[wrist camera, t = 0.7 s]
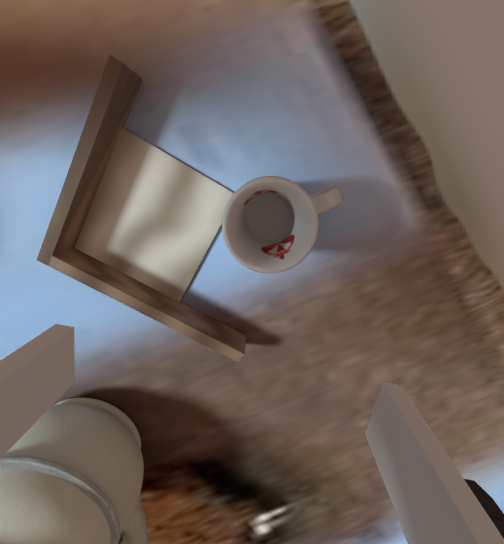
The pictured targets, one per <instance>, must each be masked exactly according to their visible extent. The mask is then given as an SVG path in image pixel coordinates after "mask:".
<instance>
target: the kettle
mask: <svg viewBox="0 0 504 544" xmlns="http://www.w3.org/2000/svg"><path fill="white" fill-rule="evenodd" d="M143 475H144V462H143V456H142V452H141V439H140V435H139V432H138V430H137V428H136V426H135V424H134V423H133V422H132V420H131V419H130V418H129V417H128V416H127V415H126V414H125V413H124V412H122V411H121V410H120V409H118V408H117V407H115V406H113V405H111V404H109V403H107V402H104V401H101V400H98V399H93V398H82V397H80V398H71V399H66V400H63V401H60V402H58V403H56V404H55V405H52V406H51V407H50V408H49V409H48V410H47V411H46V412H45V413H44V414H43V415H42V416H41V417H40V418H39V419H38V421H37V422H36V423H35V424H34V425H33V426H32V427H31V428H30V429H29V430H28V431H27V432H26V433H25V434H24V435H23V436H22V437H21V438H20V439H19V440H18V441H17V442H16V443H15V444H14V445H13V446H12V447H11V448H10V449H9V450H8V451H7V452H6V454H5V455H4V456H3V457H2V458H1V459H0V544H123V543H124V542H125V544H148V535H147V525H146V518H145V514H144V510H143V506H142V503H141V500H140V493H141V488H142V482H143ZM120 537H121V538H120Z"/></svg>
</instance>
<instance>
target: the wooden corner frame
mask: <svg viewBox="0 0 504 544" xmlns="http://www.w3.org/2000/svg"><path fill="white" fill-rule="evenodd" d="M141 81H142V79H141V78H140V77H138V76H137V75H136V74H135V73H134V72H133V71H131V70H130V69H129V68H128V67H127V66H126V65H125V64H123V63H122V62H120V61H118V60H117V59H115V58H114V57H112V56H109V59H108V62H107V65H106V67H105V70H104V73H103V76H102V79H101V81H100V84H99V87H98V90H97V93H96V95H95V98H94V101H93V104H92V107H91V109H90V112H89V115H88V118H87V121H86V123H85V126H84V129H83V132H82V135H81V137H80V140H79V143H78V146H77V149H76V151H75V154H74V157H73V160H72V163H71V165H70V168H69V171H68V174H67V177H66V180H65V182H64V185H63V188H62V191H61V194H60V196H59V199H58V202H57V205H56V208H55V210H54V213H53V216H52V219H51V222H50V224H49V227H48V230H47V233H46V236H45V238H44V241H43V244H42V247H41V250H40V252H39V255H38V258H37V260H38V261H40V262H42V263H44V264H46V265H48V266H50V267H52V268H54V269H56V270H58V271H59V272H61V273H63V274H65V275H67V276H69V277H71V278H73V279H75V280H77V281H79V282H81V283H83V284H85V285H87V286H89V287H91V288H93V289H95V290H97V291H99V292H101V293H103V294H105V295H107V296H109V297H111V298H113V299H115V300H117V301H119V302H121V303H123V304H125V305H127V306H129V307H131V308H133V309H135V310H136V311H138V312H140V313H142V314H144V315H146V316H148V317H150V318H152V319H154V320H156V321H158V322H160V323H162V324H164V325H166V326H168V327H170V328H172V329H174V330H176V331H178V332H180V333H182V334H184V335H186V336H188V337H190V338H192V339H194V340H196V341H198V342H200V343H202V344H204V345H206V346H208V347H210V348H212V349H213V350H215V351H217V352H219V353H221V354H223V355H225V356H227V357H229V358H231V359H233V360H235V361H237V362H240V361H241V359H242V358H243V356H244V354H245V344H246V335H244V334H242V333H240V332H238V331H236V330H234V329H232V328H230V327H228V326H226V325H224V324H223V323H221V322H219V321H217V320H215V319H213V318H211V317H209V316H207V315H205V314H203V313H201V312H200V311H198V310H196V309H194V308H192V307H190V306H188V305H186V304H184V303H182V302H180V300H181V298H182V296H183V295H184V293H185V291H186V289H187V287H188V285H189V283H190V282H191V280H192V278H193V276H194V274H195V272H196V270H197V269H198V267H199V265H200V263H201V261H202V259H203V257H204V256H205V254H206V252H207V250H208V248H209V246H210V244H211V243H212V241H213V239H214V237H215V235H216V233H217V231H218V230H219V228H220V226H221V224H222V218H223V213H224V210H225V207H226V205H227V203H228V201H229V199H230V198H231V196H232V195H233V194H234V193H233V192H231V191H229V190H228V189H226V188H224V187H223V186H221V185H219V184H217V183H216V182H214V181H212V180H211V179H209V178H207V177H206V176H204V175H202V174H200V173H199V172H197V171H195V170H194V169H192V168H190V167H189V166H187V165H185V164H183V163H182V162H180V161H178V160H177V159H175V158H173V157H172V156H170V155H168V154H166V153H165V152H163V151H161V150H160V149H158V148H156V147H155V146H153V145H151V144H149V143H148V142H146V141H144V140H143V139H141V138H139V137H138V136H136V135H134V134H132V133H131V132H129V131H127V130H126V129H124V128H123V127H124V125H125V122H126V119H127V117H128V114H129V112H130V109H131V107H132V104H133V102H134V99H135V97H136V94H137V92H138V89H139V86H140V84H141Z"/></svg>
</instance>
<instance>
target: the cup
mask: <svg viewBox="0 0 504 544" xmlns="http://www.w3.org/2000/svg"><path fill="white" fill-rule="evenodd" d="M342 201H343V197H342V193H341V191H340V189H339V188H337V187H333V188H328V189H325V190H322V191H319V192H317V193H314V194H312V195H309V194H308V193H307V192H306V191H305V190H304V189H303V188H302V187H301V186H299V185H298V184H297V183H295V182H293V181H291V180H289V179H286V178H282V177H277V176H266V177H260V178H256V179H253V180H251V181H249V182H247V183H245V184H244V185H242V186H241V187H240V188H239V189H238V190H237V191H236V192H235V193H234V194H233V195H232V196H231V198H230V199H229V201H228V203H227V205H226V207H225V210H224V213H223V218H222V232H223V237H224V241H225V243H226V246H227V248H228V250H229V251H230V253H231V254H232V255H233V257H234V258H235V259H236V260H237V261H238V262H239V263H241V264H242V265H244V266H245V267H247V268H249V269H251V270H254V271H257V272H261V273H279V272H283V271H286V270H289V269H291V268H293V267H295V266H296V265H298V264H299V263H300V262H302V261H303V260H304V259H305V258H306V257H307V255H308V254H309V253H310V251H311V250H312V248H313V246H314V244H315V242H316V239H317V235H318V230H319V218H318V215H319V214H321V213H324V212H326V211H328V210H331V209H333V208H335V207H337V206H338V205H340V204H341V203H342Z"/></svg>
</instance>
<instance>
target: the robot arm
mask: <svg viewBox="0 0 504 544" xmlns="http://www.w3.org/2000/svg"><path fill="white" fill-rule="evenodd" d="M74 382H75V371H74V327H70V326H64V325H58V324H55V325H54V326H52V327H51V328H49V329H48V330H46V331H45V332H43V333H42V334H40V335H39V336H37V337H36V338H34V339H33V340H31V341H30V342H28V343H27V344H25V345H24V346H22V347H21V348H19V349H18V350H16V351H15V352H13V353H12V354H10V355H9V356H7V357H6V358H4V359H3V360H1V361H0V459H1V458H2V457H3V456H4V455H5V454H6V452H7V451H8V450H9V449H10V448H11V447H12V446H13V445H14V444H15V443H16V442H17V441H18V440H19V439H20V438H21V437H22V436H23V435H24V434H25V433H26V432H27V431H28V430H29V429H30V428H31V427H32V426H33V425H34V424H35V423H36V422H37V421H38V419H39V418H40V417H41V416H42V415H43V414H44V413H45V412H46V411H47V410H48V409H49V408H50V407H51V406H52V405H53V404H54V403H55V402H56V401H57V400H58V399H59V398H60V397H61V396H62V395H63V394H64V393H65V392H66V391H67V390H68V389H69V388H70V386H71V385H72V384H73V383H74ZM365 435H366V438H367V441H368V443H369V446H370V448H371V451H372V453H373V456H374V458H375V461H376V463H377V466H378V469H379V471H380V474H381V476H382V479H383V481H384V484H385V486H386V489H387V491H388V494H389V497H390V499H391V502H392V504H393V507H394V509H395V512H396V514H397V517H398V519H399V522H400V525H401V527H402V530H403V532H404V535H405V537H406V540H407V542H408V544H504V514H503V512H502V511H501V510H500V508H499V507H498V505H497V504H496V503H495V501H494V500H493V499H492V498H491V497H490V496H489V495H488V494H487V493H486V492H485V491H484V490H483V489H482V488H481V487H480V486H479V485H478V484H477V483H476V482H475V481H473V480H467V479H464V478H463V477H462V475H461V474H460V473H459V471H458V470H457V468H456V467H455V465H454V464H453V462H452V461H451V459H450V458H449V456H448V455H447V453H446V452H445V450H444V449H443V447H442V446H441V444H440V443H439V441H438V440H437V438H436V437H435V435H434V434H433V432H432V431H431V429H430V428H429V426H428V425H427V423H426V422H425V420H424V419H423V417H422V416H421V414H420V413H419V411H418V410H417V408H416V407H415V405H414V404H413V402H412V401H411V399H410V398H409V396H408V395H407V393H406V392H405V390H404V389H403V387H402V386H401V385H395V384H390V383H384V382H383V385H382V388H381V390H380V393H379V396H378V399H377V401H376V404H375V407H374V410H373V413H372V415H371V418H370V421H369V424H368V426H367V429H366V432H365Z"/></svg>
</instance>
